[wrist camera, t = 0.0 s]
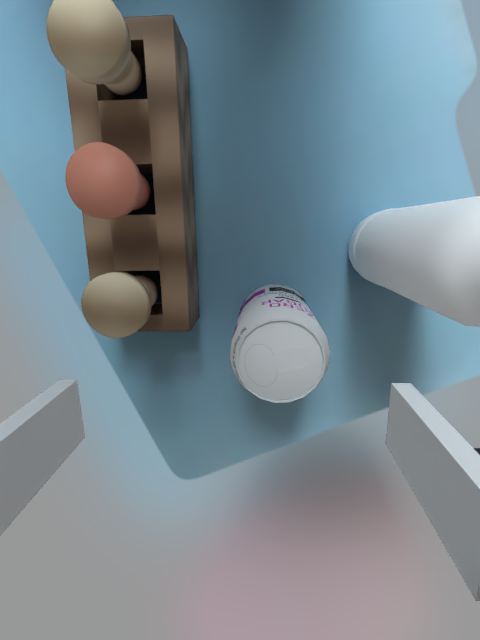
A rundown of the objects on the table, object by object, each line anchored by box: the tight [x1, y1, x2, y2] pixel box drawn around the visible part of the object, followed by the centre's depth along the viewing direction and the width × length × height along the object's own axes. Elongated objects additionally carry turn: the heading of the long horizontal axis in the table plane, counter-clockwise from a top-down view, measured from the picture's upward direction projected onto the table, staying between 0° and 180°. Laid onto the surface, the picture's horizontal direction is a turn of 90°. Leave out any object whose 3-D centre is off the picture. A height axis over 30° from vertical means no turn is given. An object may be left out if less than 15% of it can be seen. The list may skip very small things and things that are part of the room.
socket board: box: [65, 15, 199, 331], centre depth 37 cm, size 28×10×6 cm, turn 1°
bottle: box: [348, 196, 480, 326], centre depth 25 cm, size 8×8×30 cm
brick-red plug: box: [66, 142, 150, 219], centre depth 31 cm, size 6×6×7 cm
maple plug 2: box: [81, 272, 158, 338], centre depth 34 cm, size 6×6×7 cm
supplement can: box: [230, 284, 330, 403], centre depth 35 cm, size 8×8×15 cm
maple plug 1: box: [47, 0, 142, 96], centre depth 29 cm, size 6×6×7 cm
